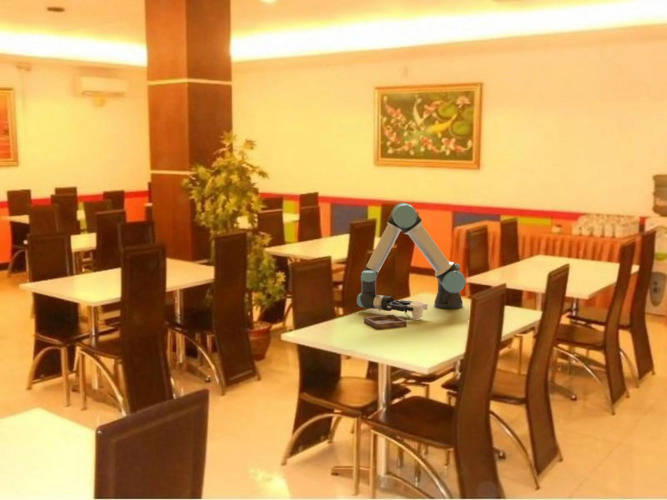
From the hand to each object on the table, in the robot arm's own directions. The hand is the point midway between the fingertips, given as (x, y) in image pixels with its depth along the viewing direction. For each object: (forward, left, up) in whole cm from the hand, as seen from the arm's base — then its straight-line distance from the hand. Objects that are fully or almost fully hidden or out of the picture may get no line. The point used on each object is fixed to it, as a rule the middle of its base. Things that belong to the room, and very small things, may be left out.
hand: (423, 308), depth 350 cm
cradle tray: (+21, 0, -6) cm, 21 cm away
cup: (+3, -4, -6) cm, 8 cm away
